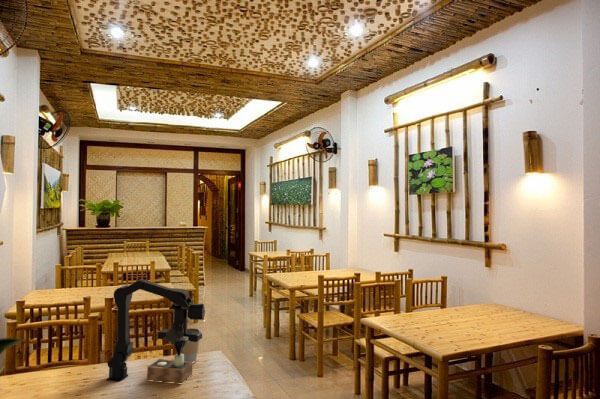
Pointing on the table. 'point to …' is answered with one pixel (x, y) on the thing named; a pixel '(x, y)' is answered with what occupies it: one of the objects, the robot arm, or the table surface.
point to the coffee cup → (191, 348)
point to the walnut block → (169, 371)
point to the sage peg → (179, 360)
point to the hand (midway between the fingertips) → (179, 355)
